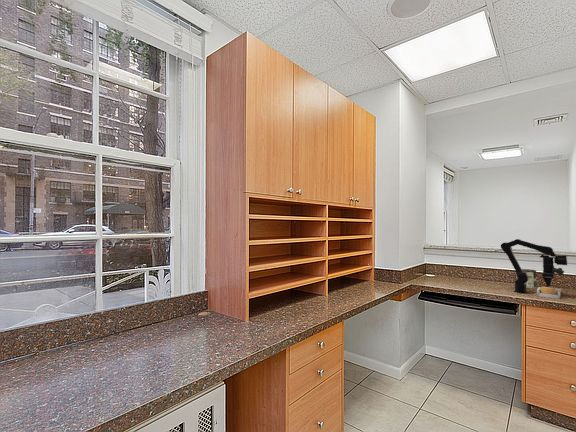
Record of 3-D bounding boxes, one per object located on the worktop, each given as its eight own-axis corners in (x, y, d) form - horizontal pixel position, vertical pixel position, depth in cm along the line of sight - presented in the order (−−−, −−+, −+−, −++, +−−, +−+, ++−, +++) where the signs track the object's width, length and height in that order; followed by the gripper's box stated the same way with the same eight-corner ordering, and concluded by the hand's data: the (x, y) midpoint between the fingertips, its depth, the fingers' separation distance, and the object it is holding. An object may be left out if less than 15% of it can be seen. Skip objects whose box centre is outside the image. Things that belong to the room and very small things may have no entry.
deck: (560, 298, 212) (559, 292, 212) (537, 295, 220) (536, 289, 220) (561, 292, 232) (560, 286, 233) (540, 289, 241) (539, 284, 241)
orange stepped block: (556, 297, 215) (556, 289, 215) (541, 296, 221) (541, 287, 221) (556, 296, 220) (556, 287, 220) (541, 294, 225) (541, 286, 225)
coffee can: (530, 285, 258) (529, 269, 259) (539, 288, 248) (539, 270, 248) (517, 285, 258) (517, 269, 259) (527, 288, 248) (526, 270, 248)
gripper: (562, 266, 208) (563, 289, 208) (563, 263, 222) (564, 285, 222) (541, 264, 216) (542, 286, 216) (543, 262, 230) (544, 283, 229)
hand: (548, 285), depth 220 cm, fingers open, 9 cm apart
